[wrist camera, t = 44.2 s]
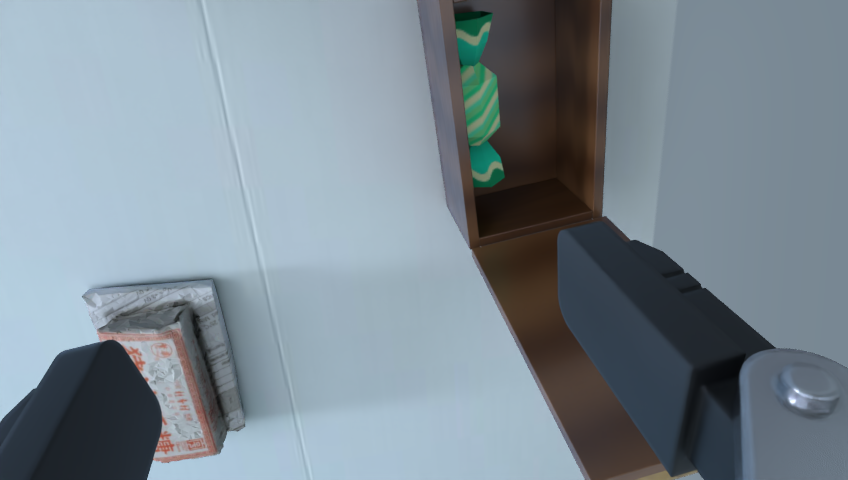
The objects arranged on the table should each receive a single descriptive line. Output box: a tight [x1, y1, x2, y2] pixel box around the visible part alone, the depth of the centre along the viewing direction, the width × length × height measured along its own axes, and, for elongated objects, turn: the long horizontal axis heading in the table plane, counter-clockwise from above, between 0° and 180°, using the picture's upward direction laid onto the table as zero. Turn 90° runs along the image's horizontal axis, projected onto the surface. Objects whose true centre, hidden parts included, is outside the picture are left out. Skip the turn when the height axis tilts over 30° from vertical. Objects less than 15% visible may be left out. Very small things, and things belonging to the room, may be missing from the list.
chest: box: [417, 0, 612, 249], centre depth 36 cm, size 18×11×7 cm, turn 9°
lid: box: [472, 216, 698, 480], centre depth 30 cm, size 18×11×5 cm
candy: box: [454, 11, 505, 188], centre depth 36 cm, size 12×3×4 cm
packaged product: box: [82, 279, 245, 463], centre depth 43 cm, size 18×5×10 cm
